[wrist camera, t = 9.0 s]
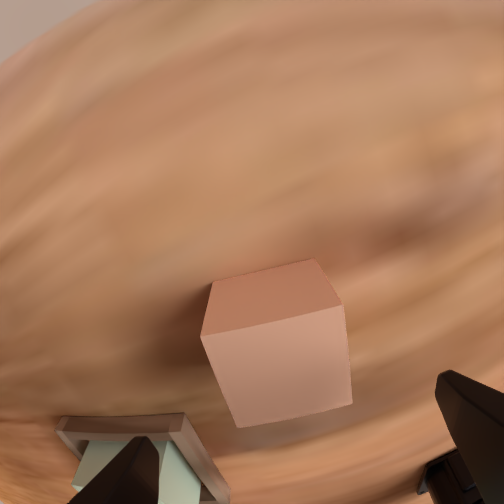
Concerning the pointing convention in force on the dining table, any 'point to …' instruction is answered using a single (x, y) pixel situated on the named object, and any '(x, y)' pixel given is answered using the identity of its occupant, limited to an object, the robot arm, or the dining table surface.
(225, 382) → the terracotta cube
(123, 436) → the walnut frame
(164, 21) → the dining table surface
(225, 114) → the dining table surface
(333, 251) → the dining table surface
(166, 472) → the sage block
